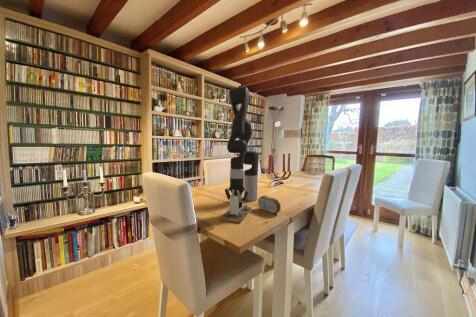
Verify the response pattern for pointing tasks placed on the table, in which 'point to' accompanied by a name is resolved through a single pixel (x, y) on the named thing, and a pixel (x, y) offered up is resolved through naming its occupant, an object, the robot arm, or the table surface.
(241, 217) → the hinge panel
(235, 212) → the cream rectangular box
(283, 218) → the table surface
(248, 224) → the table surface
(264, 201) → the tin
